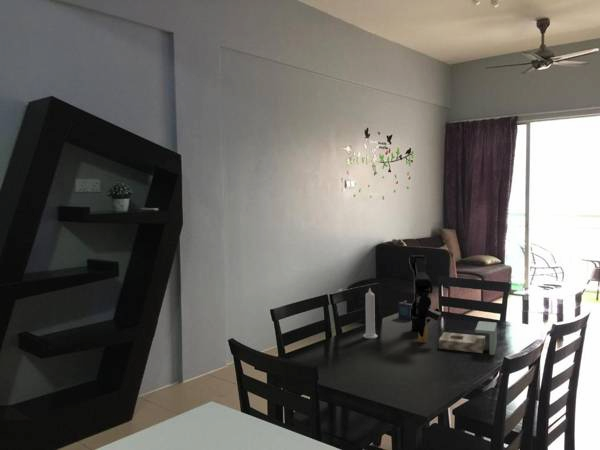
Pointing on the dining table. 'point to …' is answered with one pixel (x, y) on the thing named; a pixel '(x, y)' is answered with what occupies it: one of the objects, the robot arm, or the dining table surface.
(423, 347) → the dining table surface
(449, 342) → the socket block
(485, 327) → the upright pale grey block
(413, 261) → the robot arm
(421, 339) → the peg
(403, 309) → the flask
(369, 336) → the candle
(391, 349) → the dining table surface
